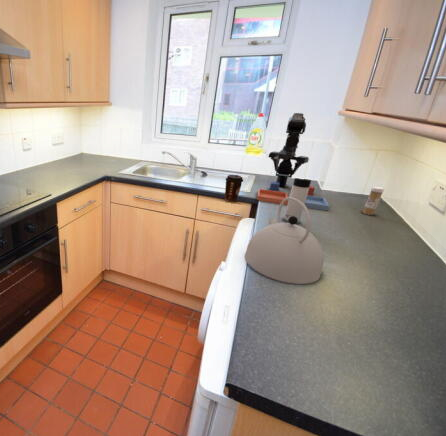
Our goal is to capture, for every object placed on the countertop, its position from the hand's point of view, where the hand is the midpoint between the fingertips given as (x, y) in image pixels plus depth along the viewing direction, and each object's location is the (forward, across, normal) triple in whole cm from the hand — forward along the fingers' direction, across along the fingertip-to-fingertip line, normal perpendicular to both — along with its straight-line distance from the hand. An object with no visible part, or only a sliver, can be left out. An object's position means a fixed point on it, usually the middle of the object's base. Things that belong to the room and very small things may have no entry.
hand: (284, 172), depth 163 cm
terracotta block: (+13, +9, +17) cm, 23 cm away
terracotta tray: (+13, +1, -10) cm, 16 cm away
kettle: (+12, +34, -75) cm, 83 cm away
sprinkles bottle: (+13, +40, +8) cm, 43 cm away
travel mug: (+13, +21, -34) cm, 42 cm away
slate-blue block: (+13, -6, +7) cm, 16 cm away
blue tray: (+13, +16, -1) cm, 21 cm away
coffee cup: (+13, -11, -31) cm, 35 cm away
